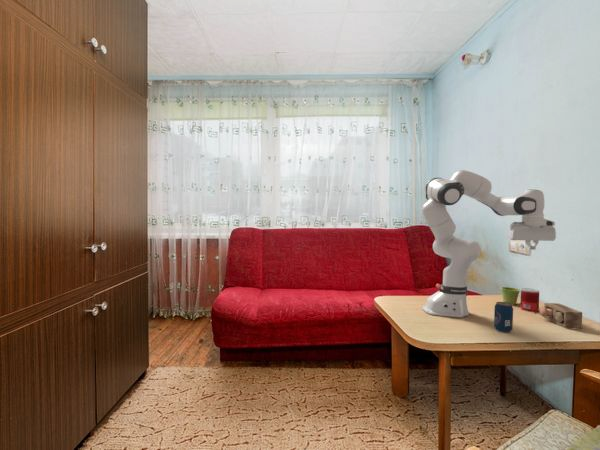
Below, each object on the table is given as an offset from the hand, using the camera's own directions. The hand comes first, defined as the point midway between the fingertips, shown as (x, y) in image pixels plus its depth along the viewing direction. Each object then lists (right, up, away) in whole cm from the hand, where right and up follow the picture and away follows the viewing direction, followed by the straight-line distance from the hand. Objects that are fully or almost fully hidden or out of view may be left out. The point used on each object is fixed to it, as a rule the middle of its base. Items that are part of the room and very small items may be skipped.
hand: (531, 249), depth 156 cm
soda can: (-26, -35, -18) cm, 47 cm away
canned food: (+8, -34, +12) cm, 37 cm away
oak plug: (+8, -33, -12) cm, 36 cm away
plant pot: (+5, -34, +23) cm, 41 cm away
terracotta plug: (+6, -33, -5) cm, 34 cm away
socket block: (+8, -35, -8) cm, 36 cm away
